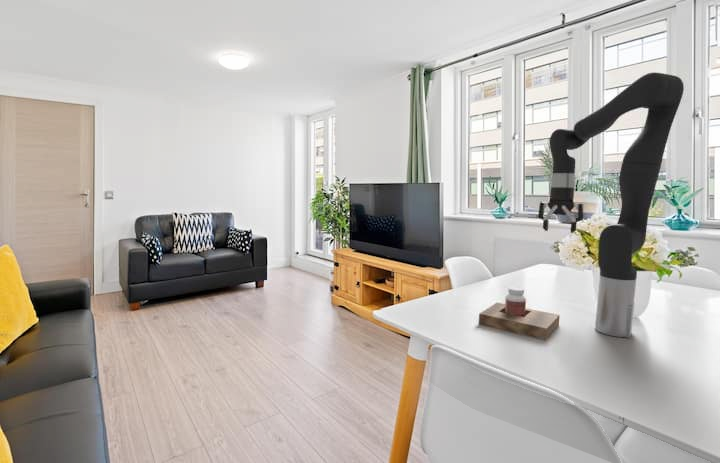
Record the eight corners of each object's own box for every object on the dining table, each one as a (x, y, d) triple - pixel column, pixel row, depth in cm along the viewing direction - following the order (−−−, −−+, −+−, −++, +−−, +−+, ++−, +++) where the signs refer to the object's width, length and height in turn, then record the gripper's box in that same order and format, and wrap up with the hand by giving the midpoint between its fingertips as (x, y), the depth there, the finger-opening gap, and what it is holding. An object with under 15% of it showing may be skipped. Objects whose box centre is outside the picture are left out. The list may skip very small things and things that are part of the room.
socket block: (558, 325, 124) (559, 314, 124) (546, 340, 112) (546, 328, 111) (496, 312, 137) (496, 302, 136) (478, 324, 124) (479, 313, 124)
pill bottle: (528, 324, 124) (530, 290, 123) (510, 325, 124) (512, 291, 122) (517, 318, 131) (520, 285, 129) (500, 318, 130) (502, 286, 128)
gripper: (538, 186, 140) (535, 230, 142) (583, 186, 131) (579, 234, 133) (543, 186, 146) (540, 229, 148) (587, 186, 137) (583, 232, 139)
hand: (559, 231), depth 140 cm, fingers open, 8 cm apart
